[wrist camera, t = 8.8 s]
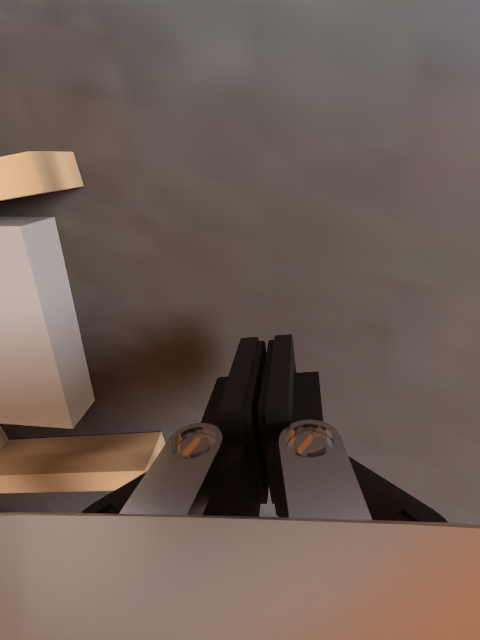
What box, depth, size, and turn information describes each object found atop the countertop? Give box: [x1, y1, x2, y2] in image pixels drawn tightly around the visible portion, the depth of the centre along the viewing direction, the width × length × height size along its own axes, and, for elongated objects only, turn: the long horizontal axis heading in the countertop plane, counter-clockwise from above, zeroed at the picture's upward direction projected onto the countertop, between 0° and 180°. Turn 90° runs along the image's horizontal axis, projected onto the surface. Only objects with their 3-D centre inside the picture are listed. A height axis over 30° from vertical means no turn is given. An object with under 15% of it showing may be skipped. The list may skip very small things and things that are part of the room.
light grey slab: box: [0, 217, 95, 429], centre depth 16 cm, size 6×9×2 cm, turn 1°
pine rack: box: [0, 151, 165, 493], centre depth 16 cm, size 10×14×2 cm
